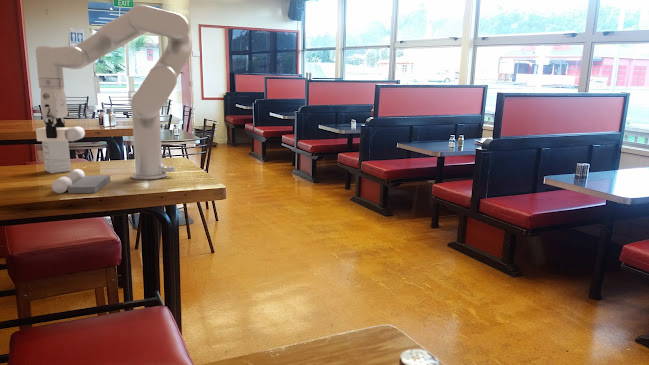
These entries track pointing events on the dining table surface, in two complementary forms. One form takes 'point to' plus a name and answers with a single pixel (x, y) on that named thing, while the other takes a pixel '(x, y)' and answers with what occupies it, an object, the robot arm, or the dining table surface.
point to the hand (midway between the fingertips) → (56, 136)
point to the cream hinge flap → (61, 134)
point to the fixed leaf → (80, 182)
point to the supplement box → (56, 156)
